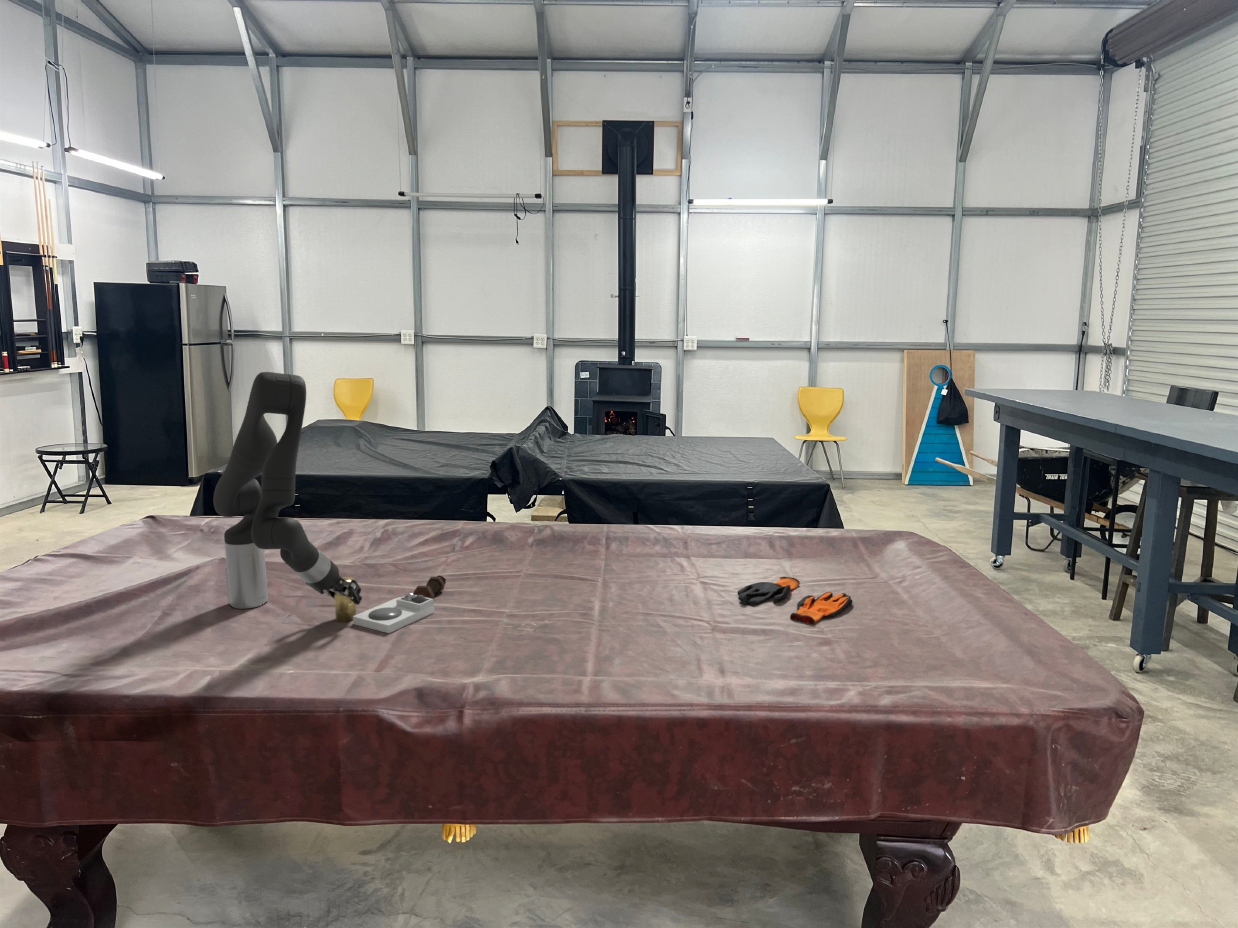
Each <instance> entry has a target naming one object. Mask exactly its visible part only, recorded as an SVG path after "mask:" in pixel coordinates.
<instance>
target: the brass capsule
mask: <svg viewBox="0 0 1238 928" xmlns="http://www.w3.org/2000/svg"><path fill="white" fill-rule="evenodd" d="M341 577H342V578H344V579H345V580H346V581H347V582H351V580H355V581H356V579H355V577H352V576H344V577H343V576H341ZM344 587H345V586H344ZM343 589H344V588H343ZM342 591H343V590H342ZM342 591H341V592H342ZM348 594H350V592H349V591H348ZM334 597H335V599H334V609H335V610H334V611H335V613H334V614H335V620H336V621H337V622H341V623H345V622H353V616H355V615H357V614H358V613H357V605H356V604H355V603H354V602H353V601H351V600H350V599H349V598H348V597H346V596H341V595H339V594H337V593H336V592H334Z"/></svg>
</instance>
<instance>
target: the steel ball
mask: <svg viewBox="0 0 1238 928" xmlns="http://www.w3.org/2000/svg"><path fill="white" fill-rule="evenodd" d="M413 593H414V592H406V594H405V595H404V600H405V601H410V602H414V598H415V597H416V596H415V595H414V594H413Z"/></svg>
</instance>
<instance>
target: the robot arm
mask: <svg viewBox="0 0 1238 928" xmlns="http://www.w3.org/2000/svg"><path fill="white" fill-rule="evenodd" d="M306 404H307V386H306V381H305V380H304V378H303V377H302V376H301V375H297V374H289V373H280V372H273V371H261V372H259V373H257V374H256V376H255V378H254V379H253V383H252V386H251V389H250V393H249V397H248V401H247V405H246V406H247V407H246V409H245V415H244V418H243V420H242V422H241V426H240V428H239V431H238V433H237V435H236V438H235V441H234V443H233V446H232V449H231V453H230V456H229V459H228V462H227V465H226V466H225V469H224V471H223V473H222V474H221V476H220V477H219V480H218V481H217V483H216V485H215V489H214V492H213V507H214V509H215V512H216V513H217V514H218V515H220V517H223V518H233V517H240V516H243V517H242V519H241V520H240V521H238V522H237V523H236V524H234V525H233V526H231V527H229V528H227V529H226V530H225V531H224V533H223V539H224V549H225V560H226V568H225V570H224V573H225V582H226V583H225V584H226V593H227V603H228V602H230V603H229V605H231V606H232V608H233V607H234V609H240V610H242V609H244V610H245V609H251V608H252V609H253V608H256V607H261V606H263V605H264V604H263V603H265V602H266V601H267V600H268V601H269V595H268V594H269V593H268V581H267V580H268V579H267V568H266V555H265V554H266V553H265V550H279V551H280V552H279V554H280V555H279V556H280V558H281V560H282V561H283V562H284V563H285V564H286V565H287V566H288V567H290V569H291V570H293V571H294V573H295V574H296V576H298V577H299V578H300V579H301V580H303V582H305V584H306V585H307V586H309V587H310V588H312V589H313V590H315V591H317V592H318V593H319V594H320V595H324V594H325V595H327V596H328V597H331V598H333V600H335V597H334V592H336V593H337V594H339V595H341V596H346V597H348V598H349V599H350V600H351V601H353V602H354V603H355V604H356V606H358V605H360V604H361V602H362V599H363V597H362V596H361V595H360V594H361V592H362V588H361V586H360V585H359V583H358V582H357V580H356V579H355V580H351V582H347V581H346V580H345V579H344V578H342V577H343V576H341V575H340V571H339V570H340V569H339V567H338V565H337V564H335V562H333V561H332V560H331V559H330V558H329V557H328V556H327V555H326V553H324V552H323V551H322V550H320V549H318V548H317V547H316V546H315V545H314V544H313V543H312V542H311V541H309V539H308V535H307V534H306V532H305V529H304V527H303V525H302V523H300V522H299V521H298V520H297V519H295V518H292V517H288V516H284V517H278V516H279V513H280V511H281V510H282V509H283V508H286V507H290V506H291V505H293V504H294V502H295V500H296V475H297V474H296V473H297V472H296V471H297V460H298V459H297V457H298V453H299V448H300V444H301V443H300V442H301V436H302V430H303V424H304V419H305V418H304V416H305V411H306ZM265 414H275V415H286V416H287V421H286V425H285V429H284V432H283V433H282V435H281V437H280V438H279V440H277V439H278V438H277V437H276V434H275V432H274V430H273V428H272V427H271V426H270V424H269V423H268V421H267V420H266V418H265ZM260 475H261V483H259V481H258V480H257V479H256V478H257V477H259V476H260ZM344 586H345V587H344ZM343 588H344V589H343ZM342 590H343V591H342ZM341 591H342V592H341ZM348 591H349V592H350V594H348ZM262 604H263V605H262ZM265 604H266V603H265ZM231 606H230V607H231Z"/></svg>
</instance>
